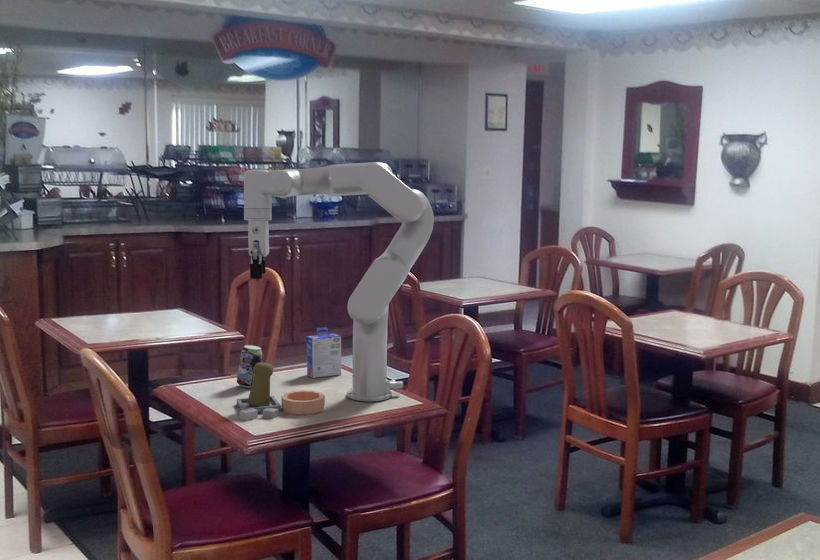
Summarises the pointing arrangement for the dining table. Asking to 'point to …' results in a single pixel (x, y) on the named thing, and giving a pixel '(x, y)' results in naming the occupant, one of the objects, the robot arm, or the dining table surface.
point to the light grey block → (249, 414)
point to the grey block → (270, 413)
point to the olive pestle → (261, 385)
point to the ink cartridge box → (323, 354)
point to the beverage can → (248, 365)
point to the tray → (244, 405)
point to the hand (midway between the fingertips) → (258, 276)
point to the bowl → (303, 402)
